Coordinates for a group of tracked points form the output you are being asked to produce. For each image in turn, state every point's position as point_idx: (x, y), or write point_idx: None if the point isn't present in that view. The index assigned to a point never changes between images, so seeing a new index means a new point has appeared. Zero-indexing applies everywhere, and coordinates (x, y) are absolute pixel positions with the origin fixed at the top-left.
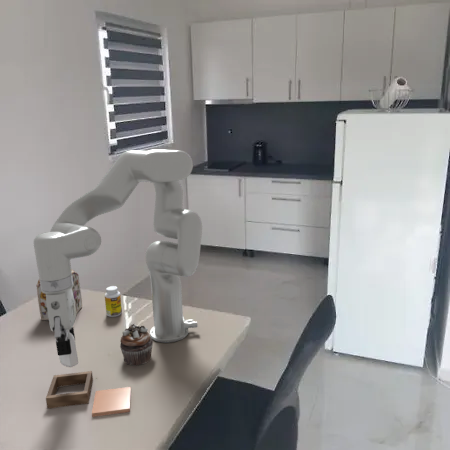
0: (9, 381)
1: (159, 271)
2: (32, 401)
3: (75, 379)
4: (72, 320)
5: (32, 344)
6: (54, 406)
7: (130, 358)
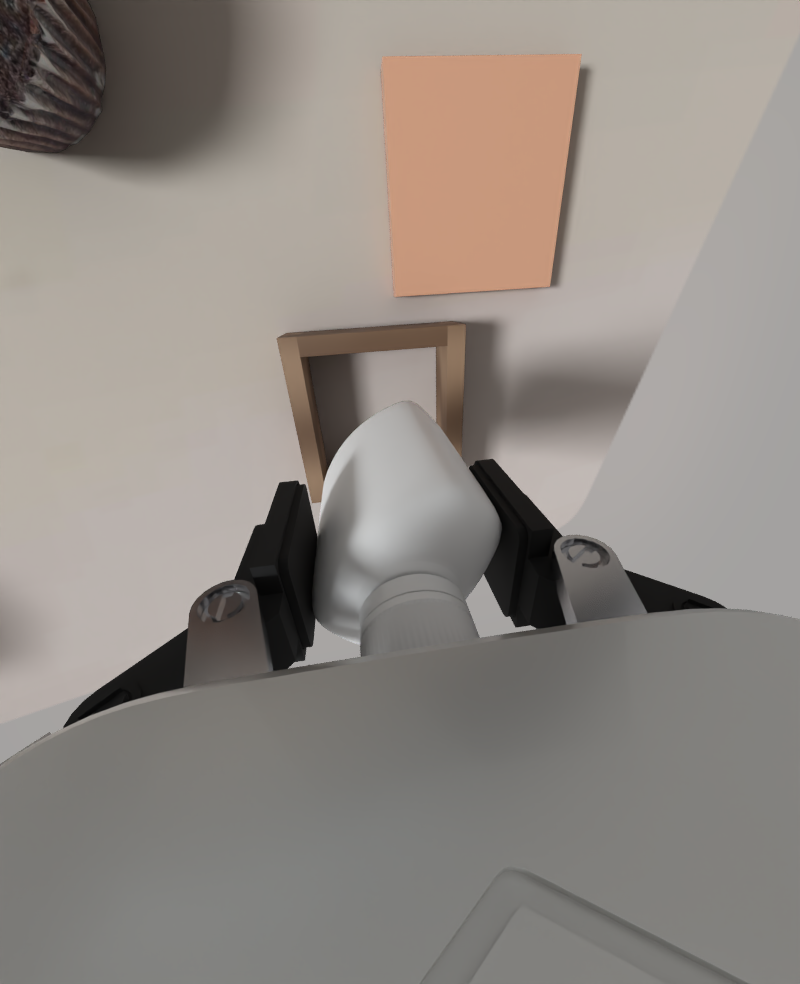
0: None
1: None
2: None
3: (313, 411)
4: (727, 742)
5: (48, 632)
6: None
7: (74, 53)
